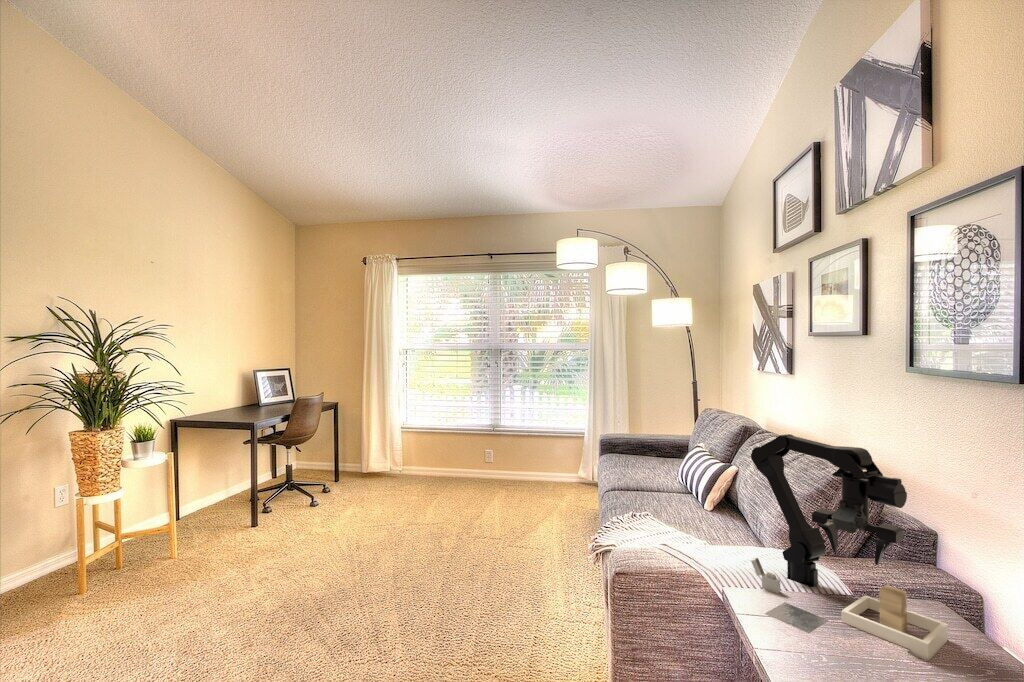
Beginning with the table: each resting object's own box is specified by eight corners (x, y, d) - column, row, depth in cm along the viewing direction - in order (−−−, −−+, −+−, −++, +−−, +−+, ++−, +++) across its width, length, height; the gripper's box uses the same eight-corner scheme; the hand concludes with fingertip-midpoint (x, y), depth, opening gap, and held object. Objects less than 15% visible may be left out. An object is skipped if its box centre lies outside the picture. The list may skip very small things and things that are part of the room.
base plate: (764, 617, 117) (764, 613, 117) (784, 606, 123) (784, 602, 123) (808, 637, 109) (808, 633, 109) (828, 624, 114) (828, 620, 114)
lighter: (780, 595, 128) (780, 565, 129) (777, 597, 127) (777, 566, 128) (753, 585, 134) (753, 556, 134) (750, 587, 133) (750, 557, 133)
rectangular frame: (841, 625, 114) (841, 610, 114) (865, 609, 122) (864, 595, 122) (928, 661, 101) (927, 644, 101) (948, 640, 109) (947, 624, 109)
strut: (886, 623, 114) (885, 584, 115) (907, 631, 111) (906, 591, 111) (879, 628, 112) (879, 589, 112) (901, 636, 109) (900, 596, 109)
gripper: (801, 493, 128) (802, 552, 127) (887, 511, 112) (887, 580, 112) (820, 487, 134) (821, 544, 133) (903, 504, 119) (904, 568, 118)
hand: (855, 558), depth 124 cm, fingers open, 9 cm apart
